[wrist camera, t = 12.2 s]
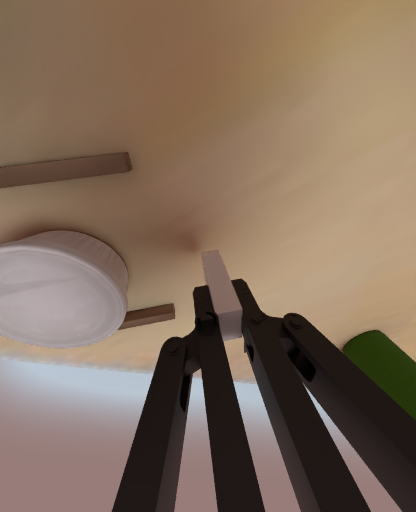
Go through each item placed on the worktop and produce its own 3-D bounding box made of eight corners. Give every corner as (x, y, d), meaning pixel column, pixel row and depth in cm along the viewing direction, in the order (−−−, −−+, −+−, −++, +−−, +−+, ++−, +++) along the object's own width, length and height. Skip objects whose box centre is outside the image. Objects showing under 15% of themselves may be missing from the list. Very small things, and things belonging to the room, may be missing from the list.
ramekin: (51, 191, 14) (-4, 211, 10) (158, 267, 20) (153, 302, 15) (-10, 272, 17) (-75, 316, 13) (99, 319, 23) (80, 361, 18)
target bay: (-92, 178, 12) (-122, 182, 11) (127, 152, 14) (122, 153, 12) (56, 332, 22) (49, 343, 21) (174, 309, 24) (174, 318, 22)
